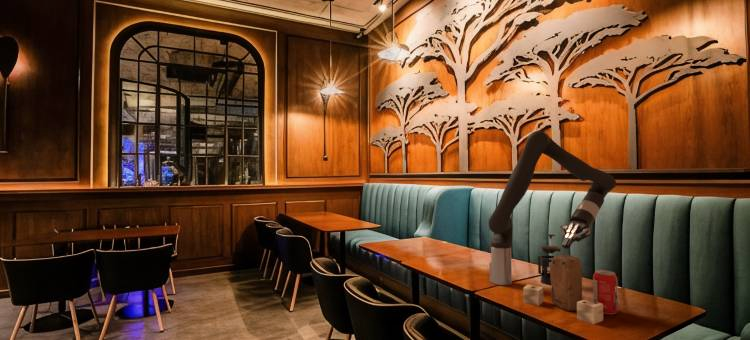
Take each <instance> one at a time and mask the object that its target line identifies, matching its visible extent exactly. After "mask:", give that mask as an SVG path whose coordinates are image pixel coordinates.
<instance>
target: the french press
mask: <svg viewBox="0 0 750 340" xmlns="http://www.w3.org/2000/svg"><path fill="white" fill-rule="evenodd" d="M545 236H546V237H549V241H550V242H549V243H550V245H541V246H540V248H541V252H542V253H544V254H555V252H558V253H561V250H562V247H560V246H557V245H556V246H555V245H552V239H553V237H556V235H555V234H553V233H552V234H550V233H549V234H545ZM555 256H556V255H538V256H537V263H538V265H537V268H538V269H537V271H538V273H537V274H538V275H540V282H541V284H544V285H547V286H552V285H551V278H550V266H548V263H551V261H552V259H553V258H554V257H555Z"/></svg>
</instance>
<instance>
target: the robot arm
mask: <svg viewBox="0 0 750 340" xmlns="http://www.w3.org/2000/svg"><path fill="white" fill-rule="evenodd" d="M542 155H545V156H547V157H549V158H550V159H552V160H554V161H555V162H556V163H557V164H559V165H560V166H561V167H562V168H563V169H565V171H567V172H568V173H569V174H571V175H572V176H573V177H575V178H577V179H578V180H580V181H581V182H582V181H583V182H585V181H590V182H592V183H591V185H590V186H589V188H588V189H587V192H586V194H585V196H584V197H583V199H582V200H581V202H580V203H579V204H578V205H577V206H576V209H575V210H574V211H573V213H572V215H571V216H570V221H569V222H567V224H566V225H564V226H563V225H560V226H559V228H560V233H561V236H562V237H563V241H562V243H561V246H562V248H563V249H566V250H569V248H570V247H571V246H572V244H573V243H574V242H578V243H579V242H581V241H583V240H584V239H586V238H588V237H591V235H592V233H591V231H590V230H589V229H590V227H591V226H592V224H593V223H594V221H595V220H596V218H597V216H598V214H599V211H600V210H601V208H602V206H603V205H604V202H605V197H607V195H608V194H610V192H611V191H612V190H614V189H615V188H616V187H617V181H616V179H615V178H614V176H612V175H611V174H610V173H608V172H606V171H604V170H603V171H602V170H601V169H598V168H596V167H592V166H591V165H589V164H588V163H587V162H585V161H583V160H582V159H580V158H579V157H577V156H576V155H574V154H573V153H570V152H569V151H567V150H566V149H564V148H563V147H561V146H560V145H559V144H558V143H556V142H555V141H554V140H553V139H552V138H551V137H550V135H549V134H547V133H546V132H545V131H541V130H536V131H533V132H531V133H530V134H529V135H528V137H526V141H525V145H524V148H523V151H522V153H521V156H520V158H519V160H518V162H517V163H516V165H515V167H514V168H513V170H512V173H511V174H510V175H509V178H508V181H507V183H506V185H505V188H504V190H503V192H502V195H501V197H500V200H499V201H498V204H497V206H496V207H495V208H494V210H493V212H492V213H491V215H490V217H489V219H488V228H489V230H490V231H491V232H492V233H493V235H492V238H491V240H490V261H489V263H488V264H489V282H490V283H492V284H494V285H497V286H510V285H512V283H513V281H512V280H513V278H512V277H513V276H512V275H513V273H512V272H513V271H512V270H513V269H512V243H513V233H514V232H513V228H514V227H513V219H512V214H513V212H514V209H515V208H516V207H517V205H518V204H519V203H520V202H521V201H522V199H523V198H524V196H525V195H526V194H527V192H528V189H529V187H530V185H531V183H532V180H533V176H534V173H535V170H536V167H537V163H538V161H540V158H541V156H542Z"/></svg>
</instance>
